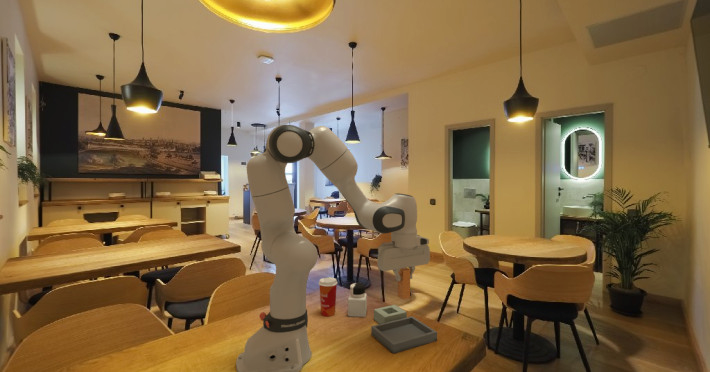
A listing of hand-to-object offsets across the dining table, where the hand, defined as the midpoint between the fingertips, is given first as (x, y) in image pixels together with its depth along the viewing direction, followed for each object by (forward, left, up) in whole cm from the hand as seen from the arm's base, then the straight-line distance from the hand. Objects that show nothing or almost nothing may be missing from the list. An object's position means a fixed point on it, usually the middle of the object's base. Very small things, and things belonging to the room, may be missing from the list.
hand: (404, 279), depth 112 cm
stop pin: (0, 0, -6) cm, 6 cm away
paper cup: (-16, +30, -21) cm, 40 cm away
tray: (0, 0, -20) cm, 20 cm away
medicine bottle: (-5, +25, -21) cm, 33 cm away
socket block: (+3, +13, -20) cm, 24 cm away
